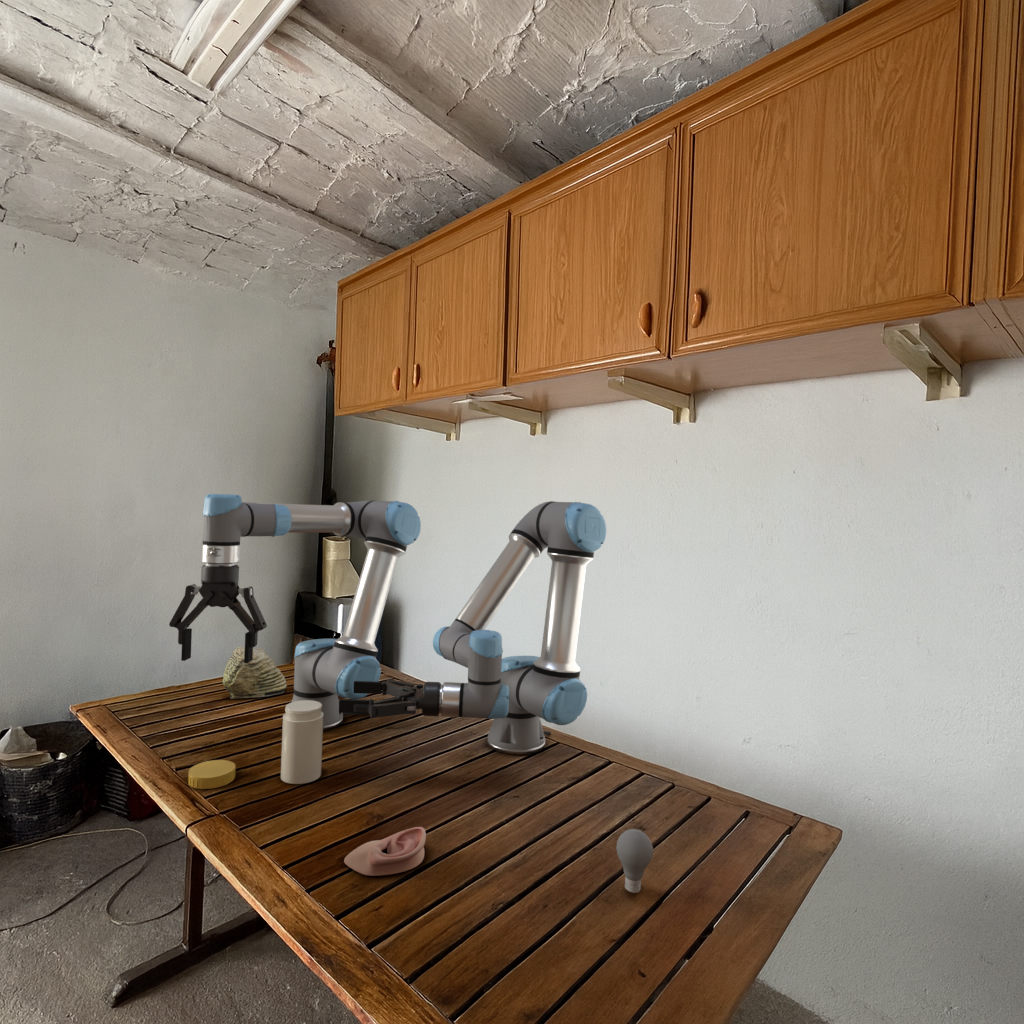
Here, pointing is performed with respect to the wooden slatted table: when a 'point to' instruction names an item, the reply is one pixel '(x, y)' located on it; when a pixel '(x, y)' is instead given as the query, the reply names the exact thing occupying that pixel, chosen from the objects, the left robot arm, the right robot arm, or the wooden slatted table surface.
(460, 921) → the wooden slatted table surface
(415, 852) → the anatomical model
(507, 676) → the right robot arm
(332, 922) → the wooden slatted table surface
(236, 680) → the fossil
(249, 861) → the wooden slatted table surface
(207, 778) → the lid
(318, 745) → the jar
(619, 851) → the light bulb
